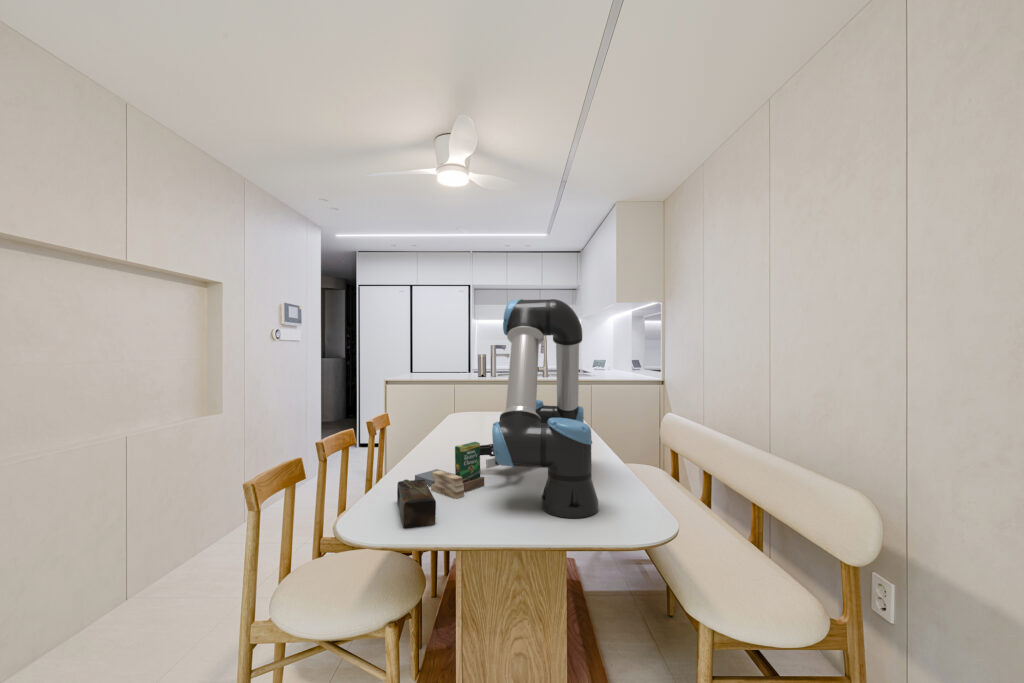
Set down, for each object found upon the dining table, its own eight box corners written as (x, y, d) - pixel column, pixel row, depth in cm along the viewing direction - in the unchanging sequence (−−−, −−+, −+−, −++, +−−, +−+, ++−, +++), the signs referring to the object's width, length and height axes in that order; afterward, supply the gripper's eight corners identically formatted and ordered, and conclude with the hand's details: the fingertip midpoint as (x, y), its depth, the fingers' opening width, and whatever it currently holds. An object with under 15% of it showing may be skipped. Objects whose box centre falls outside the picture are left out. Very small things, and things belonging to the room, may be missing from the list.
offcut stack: (464, 496, 124) (464, 477, 124) (456, 498, 122) (456, 479, 122) (439, 487, 132) (439, 470, 132) (431, 490, 129) (431, 472, 129)
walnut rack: (484, 485, 134) (484, 477, 134) (465, 492, 128) (465, 483, 128) (470, 481, 138) (470, 473, 138) (451, 487, 132) (451, 479, 132)
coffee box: (459, 491, 129) (460, 446, 129) (454, 488, 131) (454, 445, 131) (481, 485, 134) (481, 442, 134) (475, 482, 136) (475, 441, 137)
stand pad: (455, 480, 139) (455, 474, 139) (432, 487, 132) (432, 480, 132) (436, 475, 145) (436, 469, 145) (414, 481, 138) (414, 475, 138)
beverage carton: (425, 499, 122) (425, 476, 123) (436, 526, 104) (437, 498, 104) (396, 502, 120) (396, 478, 120) (403, 530, 102) (403, 502, 102)
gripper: (544, 465, 142) (500, 480, 126) (489, 452, 159) (444, 464, 143) (544, 442, 143) (500, 454, 126) (489, 432, 159) (445, 442, 143)
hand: (471, 460), depth 135 cm, fingers open, 13 cm apart
